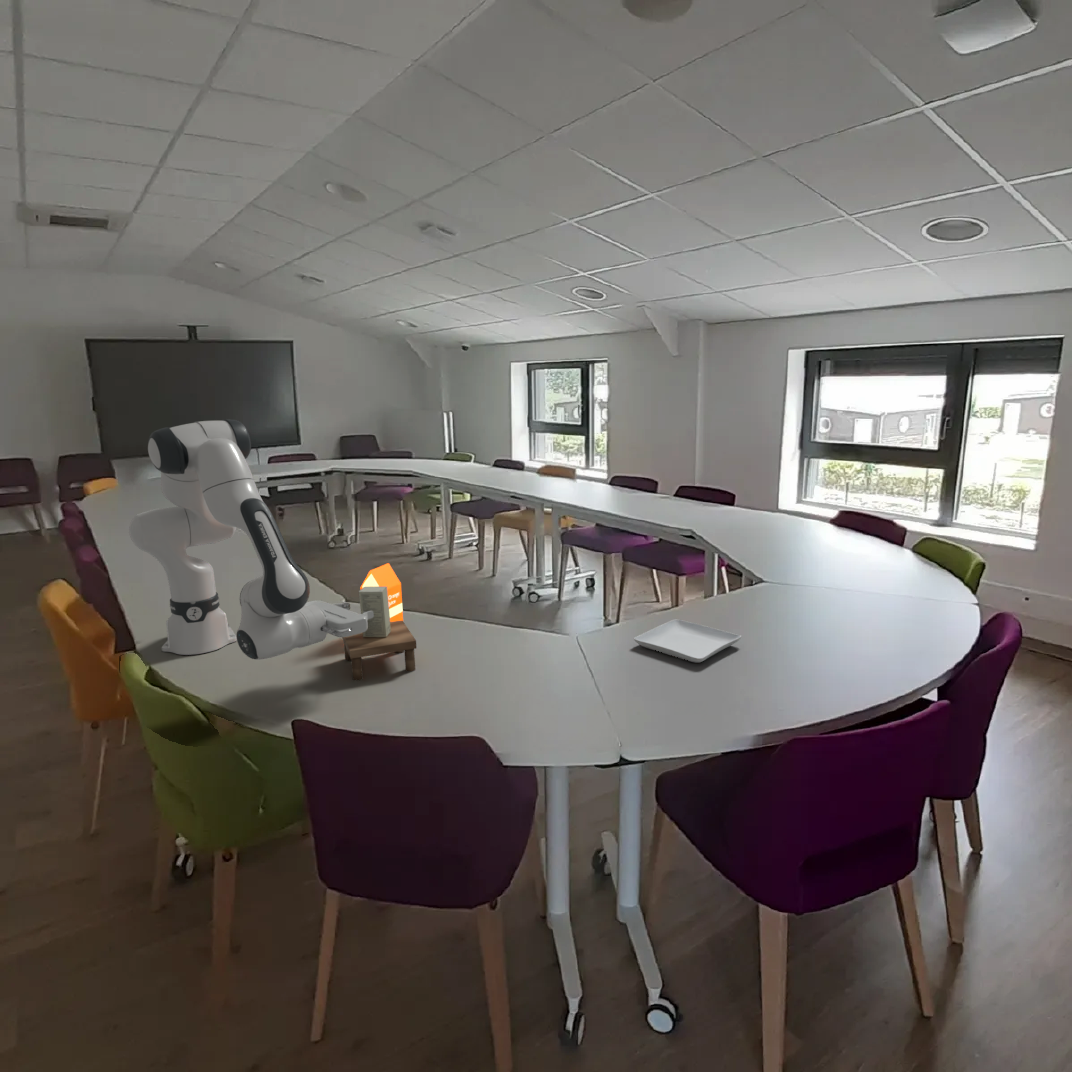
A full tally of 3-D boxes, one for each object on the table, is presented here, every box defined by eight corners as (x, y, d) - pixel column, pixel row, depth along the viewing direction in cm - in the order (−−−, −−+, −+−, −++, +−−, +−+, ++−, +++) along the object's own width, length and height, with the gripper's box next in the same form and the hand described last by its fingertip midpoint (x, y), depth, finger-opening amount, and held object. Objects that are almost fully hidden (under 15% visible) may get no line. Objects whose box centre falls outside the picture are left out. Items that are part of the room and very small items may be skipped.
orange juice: (404, 631, 203) (400, 564, 199) (385, 641, 195) (381, 572, 191) (382, 627, 206) (377, 561, 202) (362, 637, 199) (358, 569, 194)
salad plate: (631, 649, 189) (631, 637, 188) (675, 628, 204) (676, 617, 203) (700, 671, 175) (700, 658, 174) (742, 647, 189) (743, 635, 189)
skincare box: (391, 631, 180) (388, 586, 178) (386, 638, 176) (383, 591, 173) (367, 631, 181) (364, 585, 178) (361, 637, 177) (358, 591, 174)
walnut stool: (343, 657, 184) (340, 629, 183) (403, 648, 190) (402, 620, 188) (352, 682, 170) (349, 650, 168) (417, 670, 176) (416, 640, 174)
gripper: (335, 621, 156) (385, 605, 166) (285, 603, 168) (335, 589, 179) (337, 648, 157) (387, 631, 167) (287, 628, 170) (336, 613, 180)
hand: (359, 609), depth 173 cm, fingers open, 8 cm apart
